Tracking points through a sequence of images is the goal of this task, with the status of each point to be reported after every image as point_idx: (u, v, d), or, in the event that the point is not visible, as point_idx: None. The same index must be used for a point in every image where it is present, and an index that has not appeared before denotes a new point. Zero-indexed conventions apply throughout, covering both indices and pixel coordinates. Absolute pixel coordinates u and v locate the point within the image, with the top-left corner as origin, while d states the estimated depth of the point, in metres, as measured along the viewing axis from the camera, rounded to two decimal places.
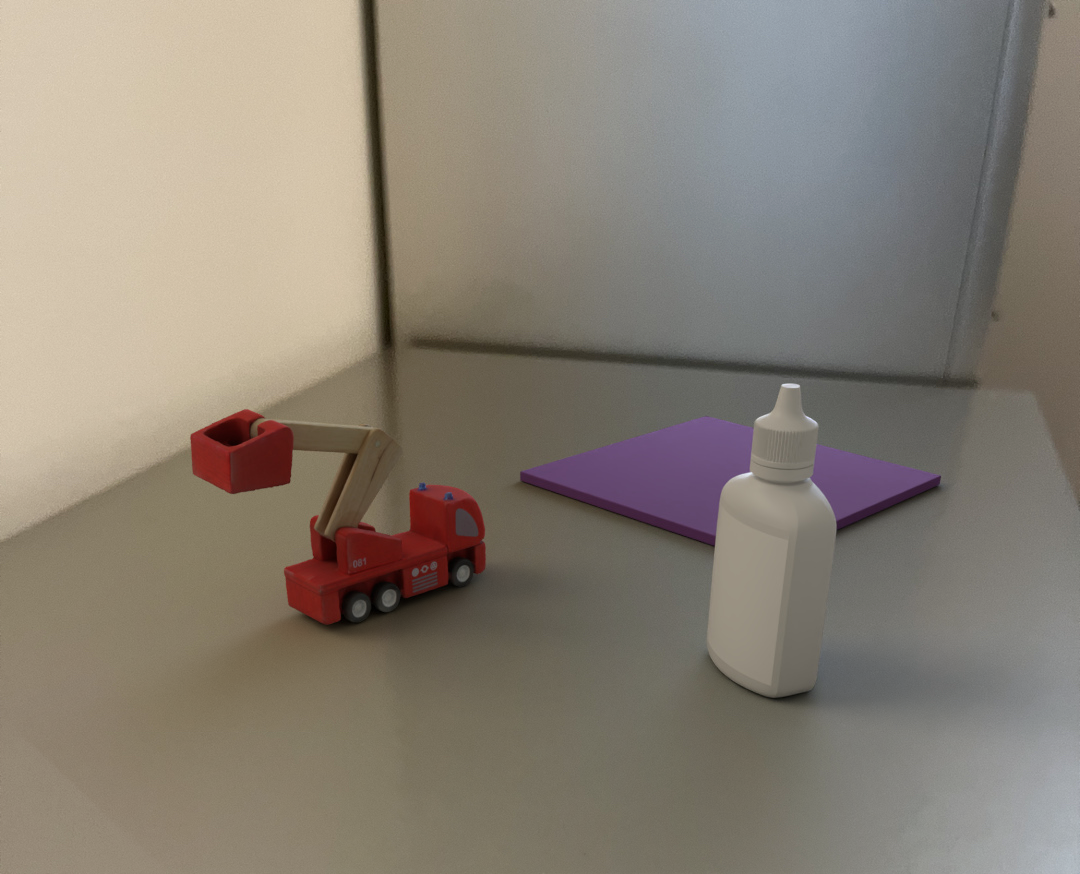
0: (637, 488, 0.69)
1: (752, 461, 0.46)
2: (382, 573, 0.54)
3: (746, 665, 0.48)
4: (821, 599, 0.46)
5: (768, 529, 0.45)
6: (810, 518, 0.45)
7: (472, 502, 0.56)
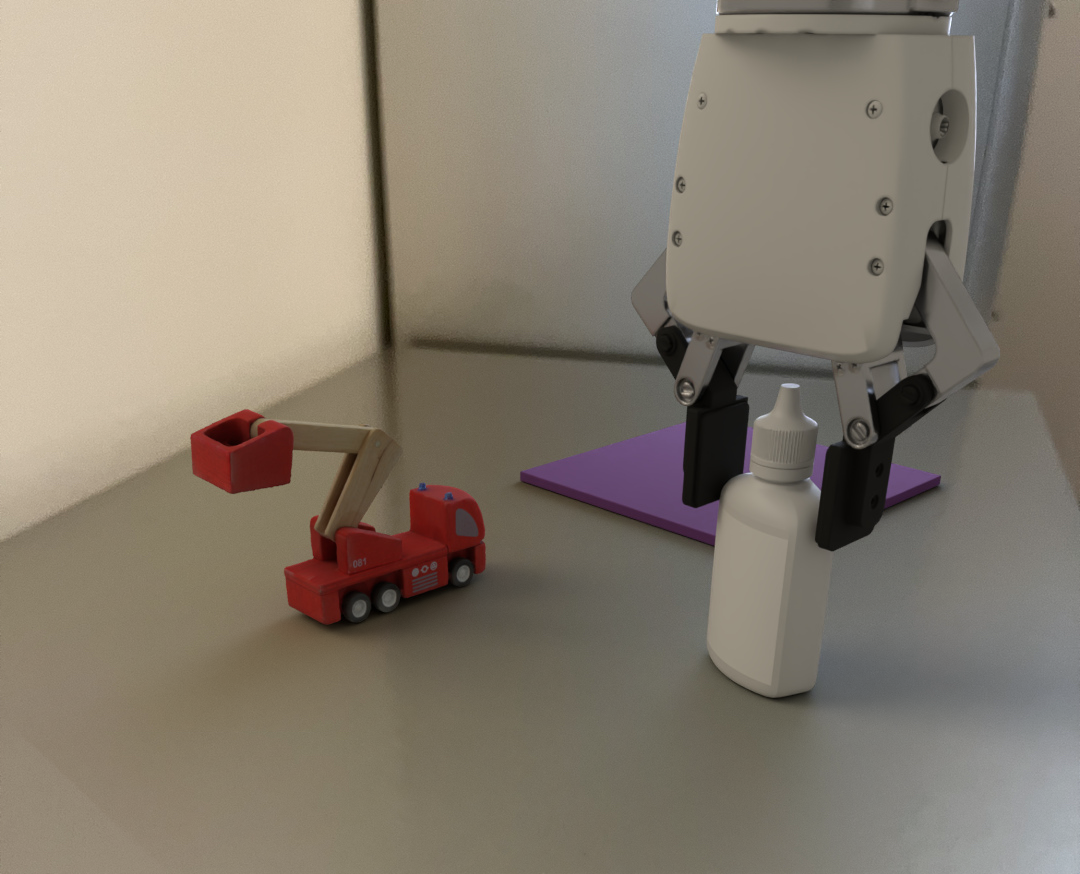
0: (637, 488, 0.69)
1: (752, 461, 0.46)
2: (382, 573, 0.54)
3: (746, 665, 0.48)
4: (821, 599, 0.46)
5: (768, 529, 0.45)
6: (810, 517, 0.45)
7: (472, 502, 0.56)
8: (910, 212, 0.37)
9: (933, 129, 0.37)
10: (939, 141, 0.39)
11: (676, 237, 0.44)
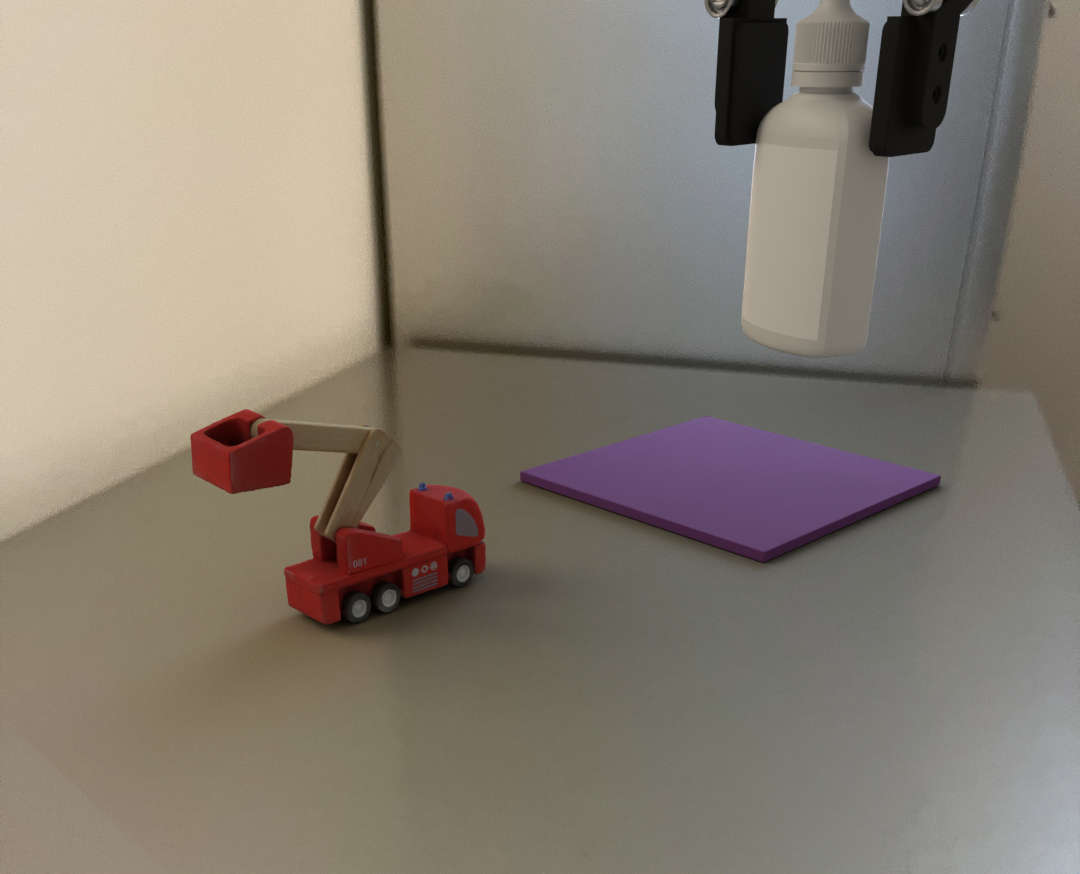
0: (637, 488, 0.69)
1: (794, 72, 0.41)
2: (382, 573, 0.54)
3: (789, 322, 0.43)
4: (874, 231, 0.41)
5: (814, 143, 0.40)
6: (862, 123, 0.40)
7: (472, 502, 0.56)
8: None
9: None
10: None
11: None
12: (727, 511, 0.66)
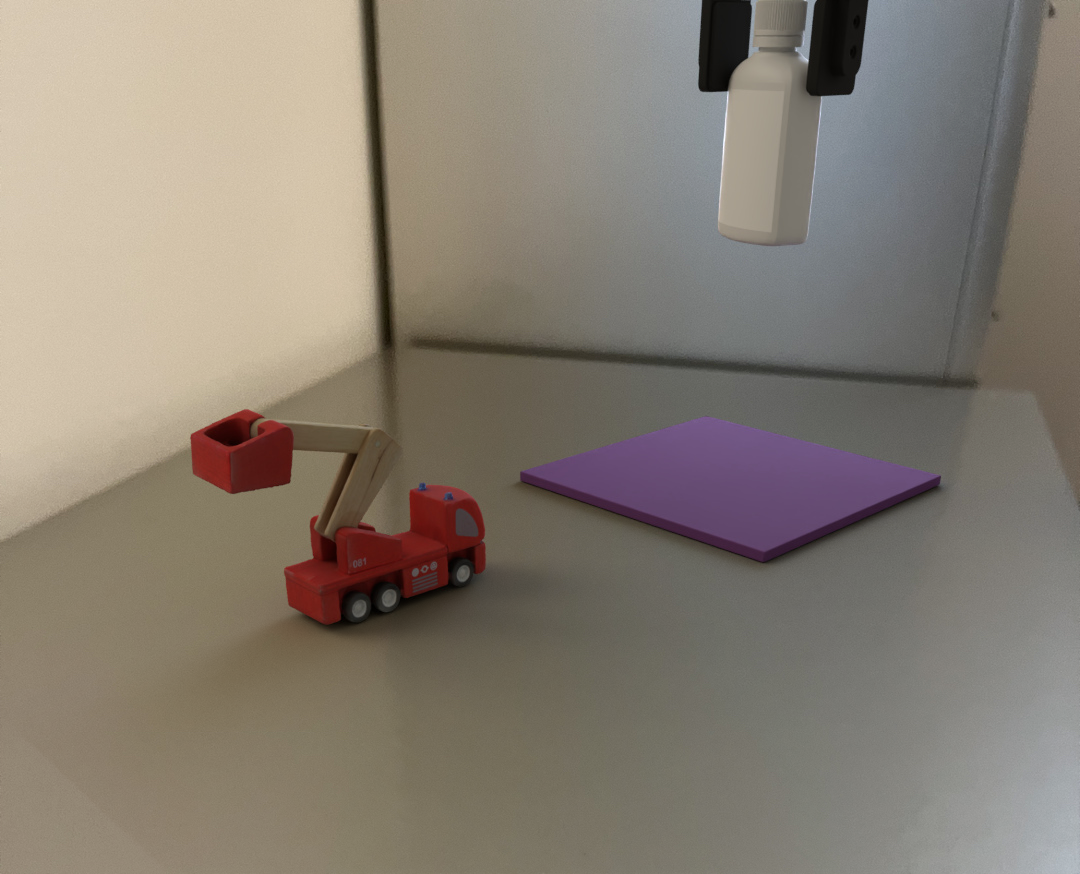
0: (637, 488, 0.69)
1: (754, 36, 0.57)
2: (382, 573, 0.54)
3: (751, 220, 0.60)
4: (811, 151, 0.58)
5: (768, 86, 0.56)
6: (802, 72, 0.56)
7: (472, 502, 0.56)
8: None
9: None
10: None
11: None
12: (727, 511, 0.66)
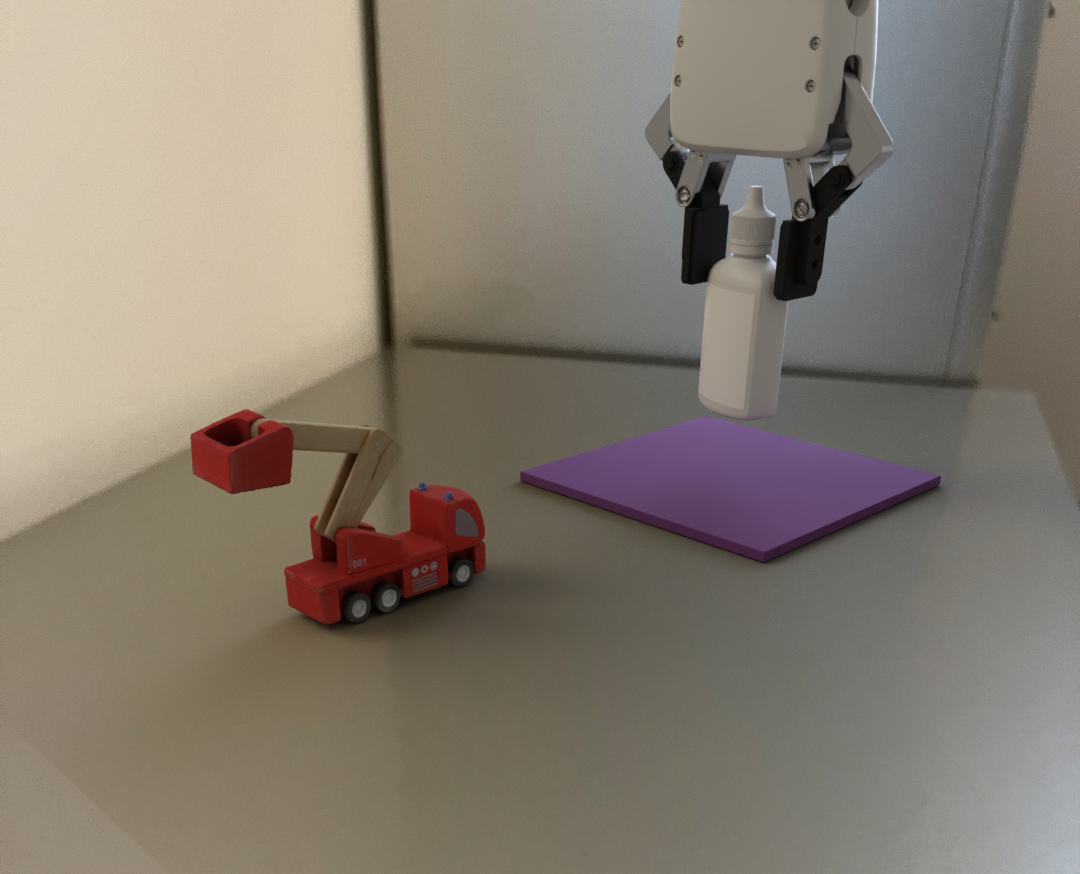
0: (637, 488, 0.69)
1: (730, 243, 0.65)
2: (382, 573, 0.54)
3: (726, 397, 0.68)
4: (779, 342, 0.66)
5: (740, 289, 0.65)
6: (770, 279, 0.64)
7: (472, 502, 0.56)
8: (832, 47, 0.57)
9: None
10: (853, 3, 0.58)
11: (677, 80, 0.63)
12: (727, 511, 0.66)
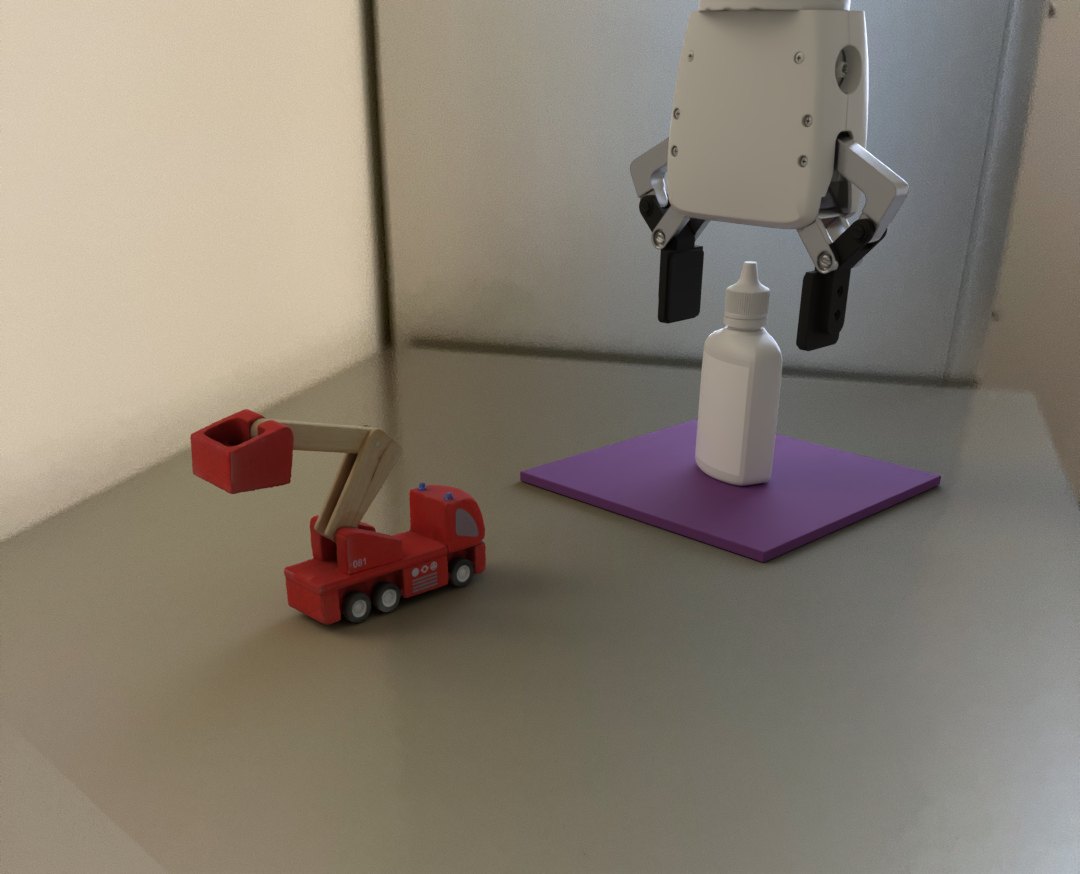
0: (637, 488, 0.69)
1: (725, 316, 0.67)
2: (382, 573, 0.54)
3: (722, 463, 0.70)
4: (773, 412, 0.68)
5: (735, 361, 0.66)
6: (764, 352, 0.66)
7: (472, 502, 0.56)
8: (823, 124, 0.58)
9: (838, 71, 0.58)
10: (844, 80, 0.59)
11: (674, 150, 0.65)
12: (727, 511, 0.66)
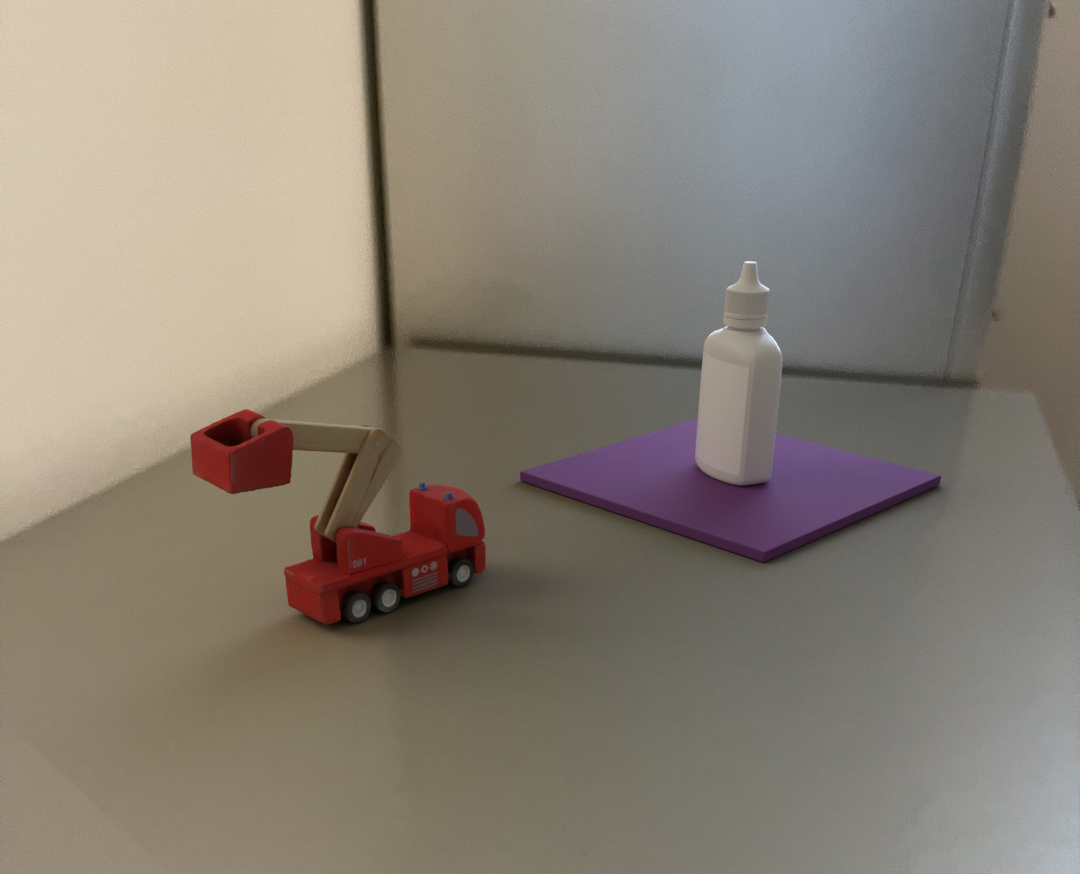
0: (637, 488, 0.69)
1: (725, 316, 0.67)
2: (382, 573, 0.54)
3: (722, 463, 0.70)
4: (773, 412, 0.68)
5: (735, 361, 0.66)
6: (764, 352, 0.66)
7: (472, 502, 0.56)
8: None
9: None
10: None
11: None
12: (727, 511, 0.66)
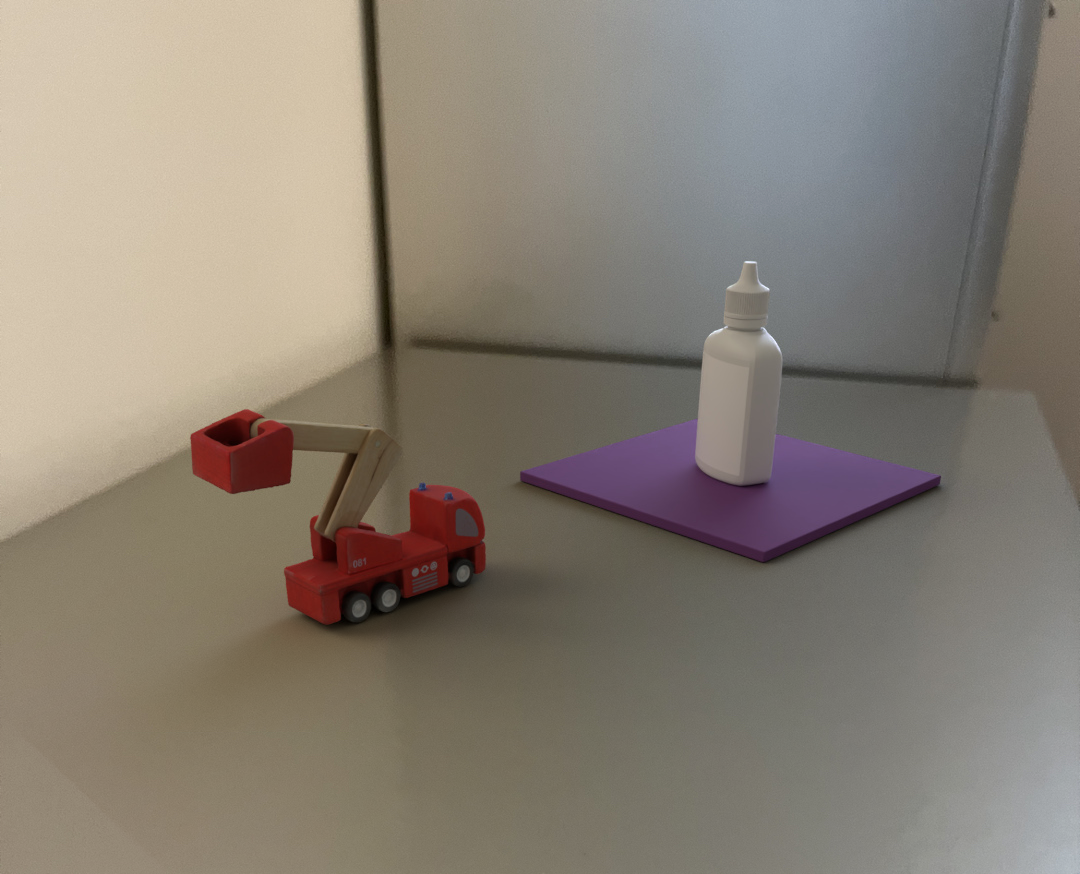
0: (637, 488, 0.69)
1: (725, 316, 0.67)
2: (382, 573, 0.54)
3: (722, 463, 0.70)
4: (773, 412, 0.68)
5: (735, 361, 0.66)
6: (764, 352, 0.66)
7: (472, 502, 0.56)
8: None
9: None
10: None
11: None
12: (727, 511, 0.66)
